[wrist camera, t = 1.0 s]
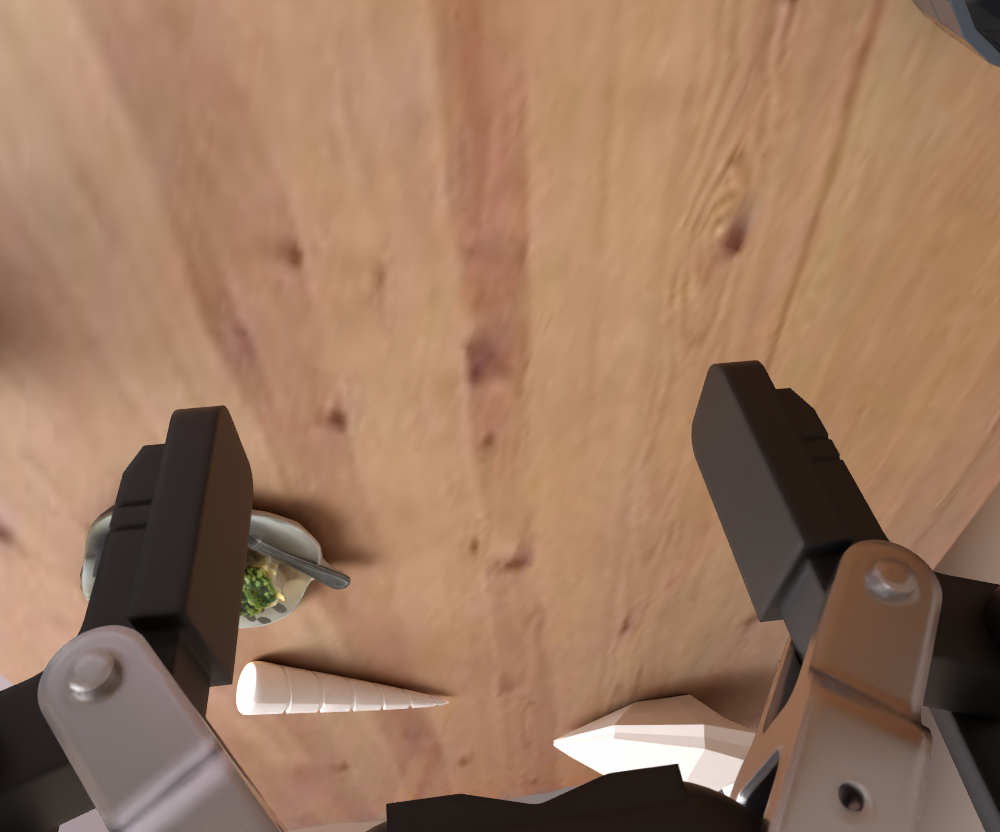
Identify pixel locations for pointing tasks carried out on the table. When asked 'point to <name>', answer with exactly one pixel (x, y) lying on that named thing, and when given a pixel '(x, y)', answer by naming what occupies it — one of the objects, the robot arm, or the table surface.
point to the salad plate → (252, 566)
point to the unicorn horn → (317, 692)
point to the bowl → (968, 24)
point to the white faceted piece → (664, 741)
